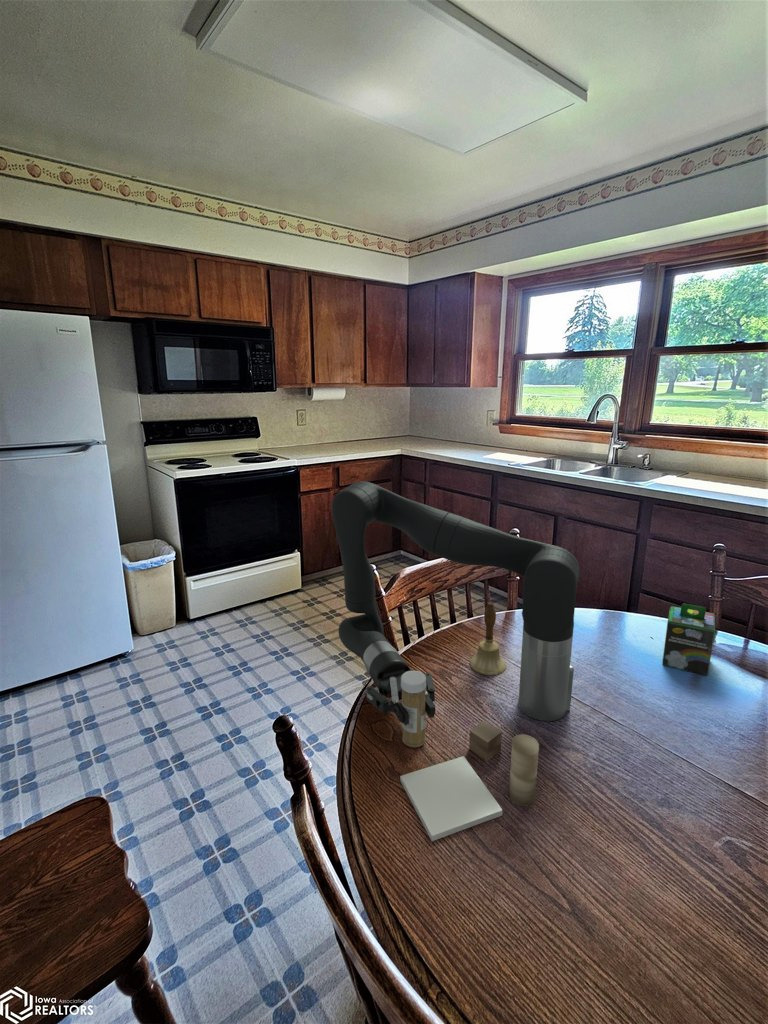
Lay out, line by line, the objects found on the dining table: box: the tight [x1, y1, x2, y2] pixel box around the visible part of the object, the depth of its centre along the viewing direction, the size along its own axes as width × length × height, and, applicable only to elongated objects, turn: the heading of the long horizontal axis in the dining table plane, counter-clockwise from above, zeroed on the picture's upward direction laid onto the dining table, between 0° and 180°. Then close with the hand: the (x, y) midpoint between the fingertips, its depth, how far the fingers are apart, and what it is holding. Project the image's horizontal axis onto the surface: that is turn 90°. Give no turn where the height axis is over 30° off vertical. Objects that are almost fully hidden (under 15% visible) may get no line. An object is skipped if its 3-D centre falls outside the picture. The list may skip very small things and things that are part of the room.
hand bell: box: [469, 601, 507, 676], centre depth 113 cm, size 8×8×16 cm
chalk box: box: [662, 603, 716, 677], centre depth 113 cm, size 9×9×15 cm
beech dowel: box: [508, 733, 540, 807], centre depth 78 cm, size 4×4×10 cm
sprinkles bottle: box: [401, 670, 427, 749], centre depth 90 cm, size 5×5×14 cm
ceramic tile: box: [399, 755, 504, 842], centre depth 79 cm, size 12×12×1 cm
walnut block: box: [468, 720, 503, 762], centre depth 89 cm, size 4×4×4 cm
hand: (420, 716), depth 88 cm, fingers closed on sprinkles bottle, 4 cm apart
